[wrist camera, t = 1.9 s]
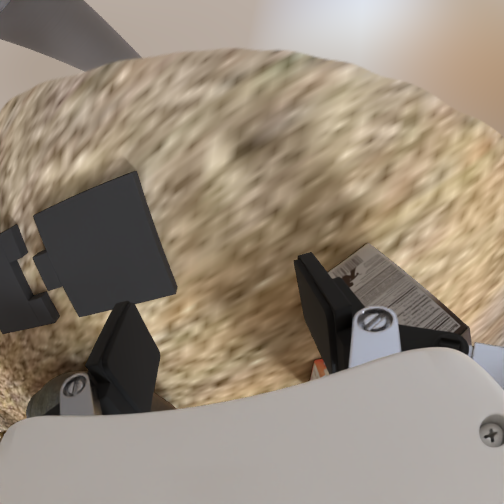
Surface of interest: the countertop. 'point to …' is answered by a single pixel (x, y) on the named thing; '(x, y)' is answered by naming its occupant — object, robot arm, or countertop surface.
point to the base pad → (19, 289)
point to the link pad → (103, 248)
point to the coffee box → (396, 292)
